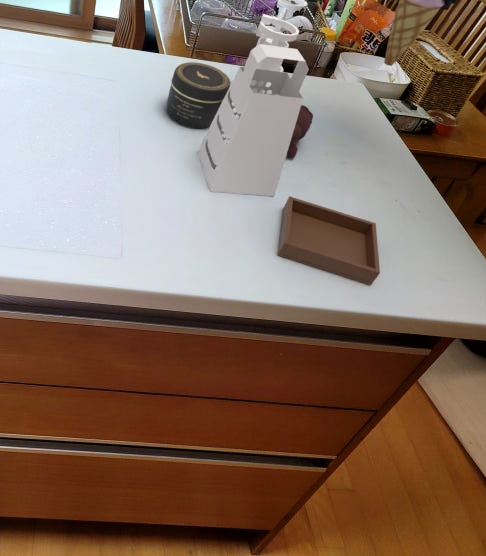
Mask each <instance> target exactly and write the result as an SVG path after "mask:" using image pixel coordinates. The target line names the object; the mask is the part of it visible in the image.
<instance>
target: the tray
mask: <svg viewBox="0 0 486 556" xmlns="http://www.w3.org/2000/svg"><path fill="white" fill-rule="evenodd" d="M278 241H279V242H278V249H277V256H278V257H281V258H285V259H288V260H290V261H294V262H297V263H300V264H303V265H306V266H310V267H313V268H316V269H318V270H322V271H324V272H325V271H326V272H328V273H331V274H334V275H338V276H340V277H343V278H345V279H346V278H347V279H350V280H353V281H356V282H359V283H362V284H365V285H369V286H372V284H373V283H374V282H375V280H376V279H377V278H378V277H379V275H380V273H381V269H380V258H379V257H380V256H379V246H378V234H377V223H376V222H373V221H370V220H367V219H363V218H360V217H357V216H354V215H351V214H348V213H344V212H341V211H338V210H334V209H332V208H328V207H325V206H322V205H319V204H315V203H313V202H309V201H306V200H303V199H300V198H297V197H293V196H288V198H287V200H286V201H285V204H284V206H283V208H282V215H281V223H280V232H279V240H278Z"/></svg>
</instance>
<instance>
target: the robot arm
mask: <svg viewBox="0 0 486 556" xmlns="http://www.w3.org/2000/svg"><path fill="white" fill-rule="evenodd" d="M444 1H445V4H444V5H443V6H442V7H441V8H442V9H443V10H444V11H448V10H449V9H450V7H451V5H452V4H453V5H455V4H456V3H457V2H458V0H444Z"/></svg>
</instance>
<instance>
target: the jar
mask: <svg viewBox="0 0 486 556" xmlns="http://www.w3.org/2000/svg"><path fill="white" fill-rule="evenodd" d="M173 71H174V72H173V75H172V77H171V81H170V87H169V91H168V96H167V101H166V106H167V107H166V108H167V112H168V114H169V116H170V117H171V119H172V120H174V121H175V122H177V123H178V124H180V125H182V126H185V127H187V128H193V129H206V128H209V127H210V125H211V123H212V121H213V119H214V117H215V115H216V113H217V111H218V109H219V107H220V105H221V103H222V101H223V99H224V97H225V95H226V93H227V91H228V89H229V87H230V85H231V80H230V78H229V76H228V75H227V74H226V73H224V71H222V70H221V69H219V68H217V67H215V66H213V65H210V64H206V63H201V62H195V61H194V62H184V63H181V64H179V65H177V66H176V68H175V69H174V70H173Z"/></svg>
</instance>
